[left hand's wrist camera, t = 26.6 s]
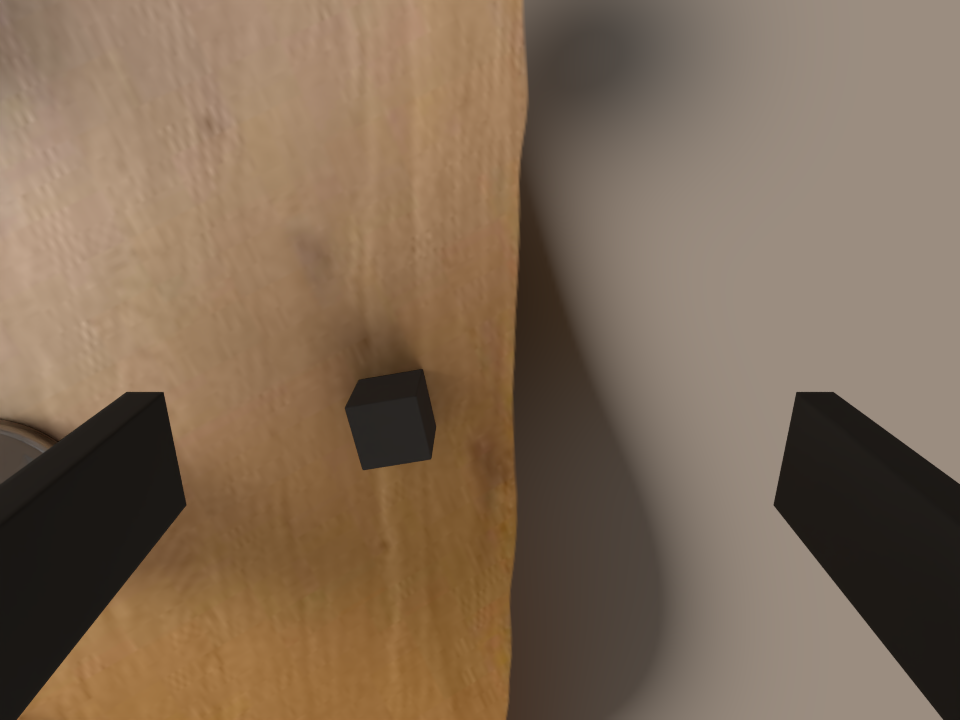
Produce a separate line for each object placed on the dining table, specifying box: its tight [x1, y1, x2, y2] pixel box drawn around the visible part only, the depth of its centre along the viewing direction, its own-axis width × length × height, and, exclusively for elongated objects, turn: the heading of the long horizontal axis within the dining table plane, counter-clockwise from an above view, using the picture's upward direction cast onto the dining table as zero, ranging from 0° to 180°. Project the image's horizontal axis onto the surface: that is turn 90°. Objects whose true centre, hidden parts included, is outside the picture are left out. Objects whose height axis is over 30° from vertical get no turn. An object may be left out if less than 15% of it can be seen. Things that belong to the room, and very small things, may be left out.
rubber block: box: [345, 369, 436, 470], centre depth 44 cm, size 5×5×5 cm
